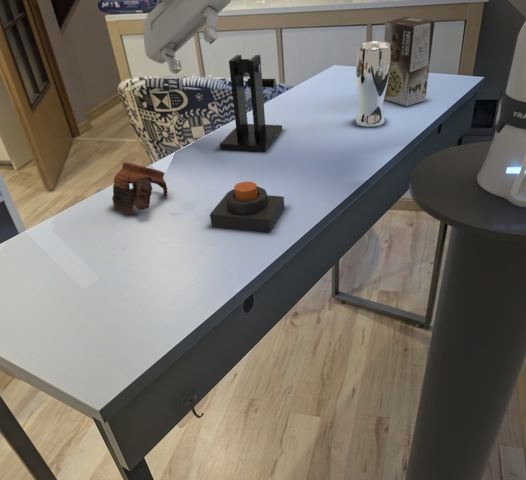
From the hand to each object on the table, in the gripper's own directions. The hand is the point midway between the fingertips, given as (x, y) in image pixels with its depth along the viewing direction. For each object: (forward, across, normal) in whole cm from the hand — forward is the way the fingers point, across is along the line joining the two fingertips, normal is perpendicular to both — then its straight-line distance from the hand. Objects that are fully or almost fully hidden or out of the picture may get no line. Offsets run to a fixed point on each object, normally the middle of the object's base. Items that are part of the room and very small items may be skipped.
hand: (193, 56), depth 91 cm
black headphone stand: (+6, -7, +22) cm, 24 cm away
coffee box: (-1, +14, +55) cm, 57 cm away
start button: (+29, +7, -2) cm, 30 cm away
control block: (+31, +5, 0) cm, 32 cm away
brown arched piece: (+24, -13, -7) cm, 28 cm away
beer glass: (+7, +11, +40) cm, 43 cm away
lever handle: (-3, -2, +19) cm, 19 cm away
